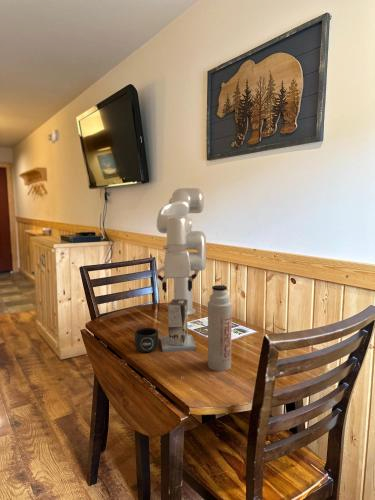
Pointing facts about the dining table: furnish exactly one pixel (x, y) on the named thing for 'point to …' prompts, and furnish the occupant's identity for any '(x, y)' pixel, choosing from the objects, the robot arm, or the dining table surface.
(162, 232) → the robot arm
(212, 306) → the thermos bottle
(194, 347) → the slate trivet
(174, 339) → the coffee box
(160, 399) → the dining table surface
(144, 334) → the mug
